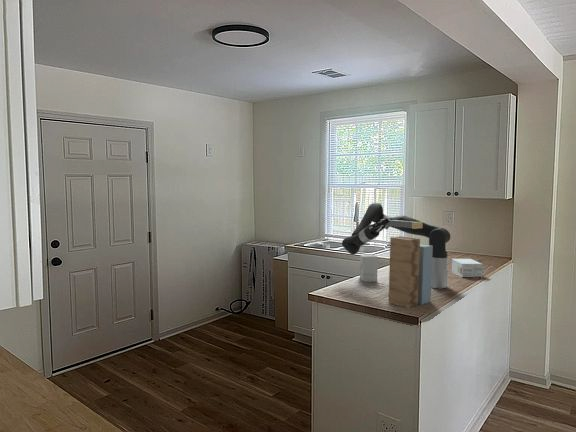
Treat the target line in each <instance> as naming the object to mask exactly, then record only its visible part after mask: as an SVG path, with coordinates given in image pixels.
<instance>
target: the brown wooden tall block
mask: <svg viewBox="0 0 576 432" xmlns="http://www.w3.org/2000/svg"><path fill="white" fill-rule="evenodd" d="M420 244H421V239H420V238H414V237H406V236H392V237H390V244H389V247H390V248H389V270H388V271H389V272H388V273H389V274H388V278H389V279H388V303H391V304H394V305H397V306H401V307H404V308H407V307H408V309H410V308H413V306H414V307H417V305H418V306H419V304H418V287H419V258H420ZM409 307H410V308H409Z"/></svg>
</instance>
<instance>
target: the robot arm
mask: <svg viewBox="0 0 576 432" xmlns="http://www.w3.org/2000/svg"><path fill="white" fill-rule="evenodd" d="M380 219H385V220H383V221H380ZM388 220H400V221H412V222H422V221H421V220H417V219H416V218H413V217H410V216H407V215H403V214H402V215H396V216H390V215H386V214H384V208H383V205H382V204H381V203H379V202H373V203H370V204H369V205H368V206H367V208H366V211H365V213H364V215H363V217H362V218H361V220H360V222H359V224H358V225H357V227H355V230H354V231H352V233H351V235H349V236H346V237H345V238H343V240H342V242H341V246H342V247H343V248H344V249H345V250H346V252H348V253H349V254H350V255H352V256H353V255H356V254H357V253H358V252H360V249H361V247H362V246H364V245H366V244H368V243H369V242H371V241H373V240H374V239H376V238H378V237H379V235H380V232H382V231H383V230H388V229H389V228H393V229H396V230H398V231H400V232H403V233H406V234H411V235H415V236H421V237H425V238H428V245H430V246H433V253H432V279H431V289H437V288H438V290H439V289H441V290H442V289H443V288H444V289H446V288H447V287H448V271H449V270H448V252H447V249H446V247H447V246H446V243H448V242H449V241H450V240H451V233H450V231H449V230H448V229H446V228H444V227H439V226H435V225H432V224H428V223H425V222H423V226H422V228H418V229H412V228H405V227H395V226H384V225H385V224H386V223H388V222H389V221H388ZM372 223H373V224H372Z"/></svg>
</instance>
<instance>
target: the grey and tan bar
mask: <svg viewBox="0 0 576 432" xmlns="http://www.w3.org/2000/svg"><path fill="white" fill-rule="evenodd" d="M383 220H385V219H380V221H383ZM388 221H389V222H388V223H386V224H385V225H384V226H395V227H405V228H412V229H418V228H422V226H423V223H424V222H423V221H421V222H412V221H400V220H388Z"/></svg>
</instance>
